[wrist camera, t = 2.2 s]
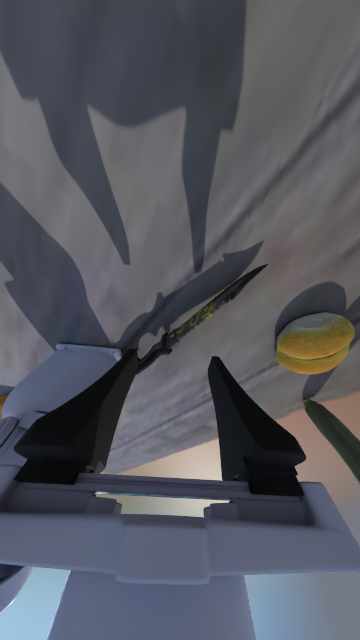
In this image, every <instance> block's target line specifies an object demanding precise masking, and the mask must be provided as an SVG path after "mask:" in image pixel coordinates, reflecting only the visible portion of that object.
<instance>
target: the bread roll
mask: <svg viewBox="0 0 360 640" xmlns="http://www.w3.org/2000/svg"><path fill="white" fill-rule="evenodd" d="M354 336H355V330H354V327H353V325H352V324H351V322H350V321H349V320H348V319H346V318H344V317H343V316H341V315H338V314H333V313H327V312H324V313H318V314H312V315H307V316H304V317H301V318H298V319H296V320H293V321H292V322H290V323H289V324H288V325H287V326H286V327H285V328H284V329H283V330H282V332H281V333H280V334H279V336H278V338H277V350H276V359H277V361H278V362H279V363H280V364H281V365H282V366H283V367H285V368H287V369H289V370H291V371H293V372H296V373H302V374H319V373H323V372H327V371H329V370H331V369H333V368H334V367H335V366H337V365H338V364H339V363H340V362H341V361H342V360H343V359H344V358H345V357H346V356H347V355H348V352H349V345H350V342H351V341H352V339H353V338H354Z"/></svg>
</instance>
